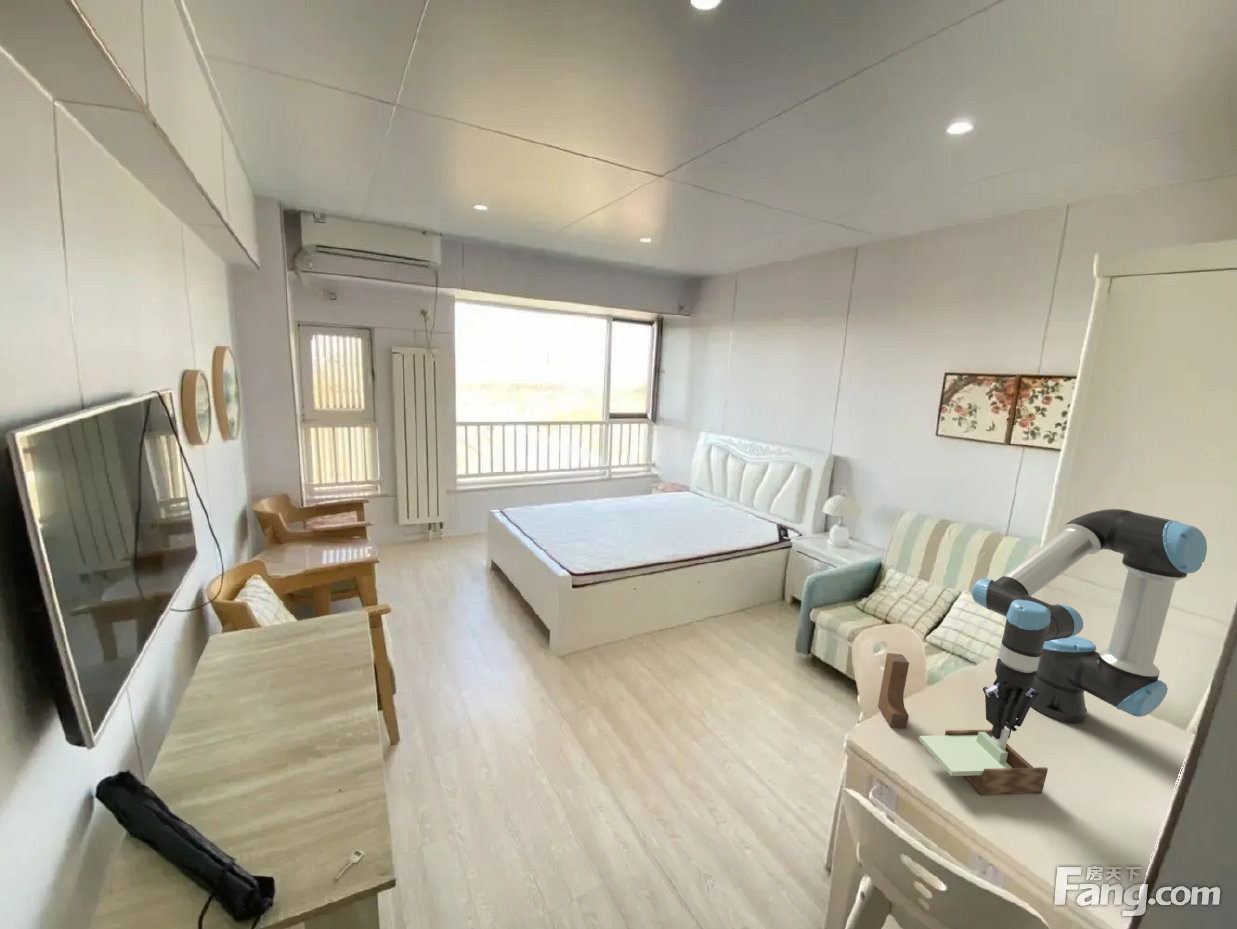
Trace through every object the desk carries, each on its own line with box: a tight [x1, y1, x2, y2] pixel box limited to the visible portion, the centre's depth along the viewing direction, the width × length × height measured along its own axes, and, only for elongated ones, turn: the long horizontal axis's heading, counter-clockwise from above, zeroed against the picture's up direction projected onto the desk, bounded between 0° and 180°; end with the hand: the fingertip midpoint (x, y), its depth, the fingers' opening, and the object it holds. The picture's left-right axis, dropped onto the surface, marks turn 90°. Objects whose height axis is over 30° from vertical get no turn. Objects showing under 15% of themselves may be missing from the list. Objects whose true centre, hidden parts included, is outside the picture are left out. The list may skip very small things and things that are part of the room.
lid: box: [918, 732, 1012, 777], centre depth 122 cm, size 16×11×4 cm
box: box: [944, 729, 1049, 796], centre depth 124 cm, size 16×13×7 cm
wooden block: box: [877, 652, 910, 730], centre depth 141 cm, size 9×4×18 cm, turn 174°
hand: (997, 748), depth 123 cm, fingers closed
